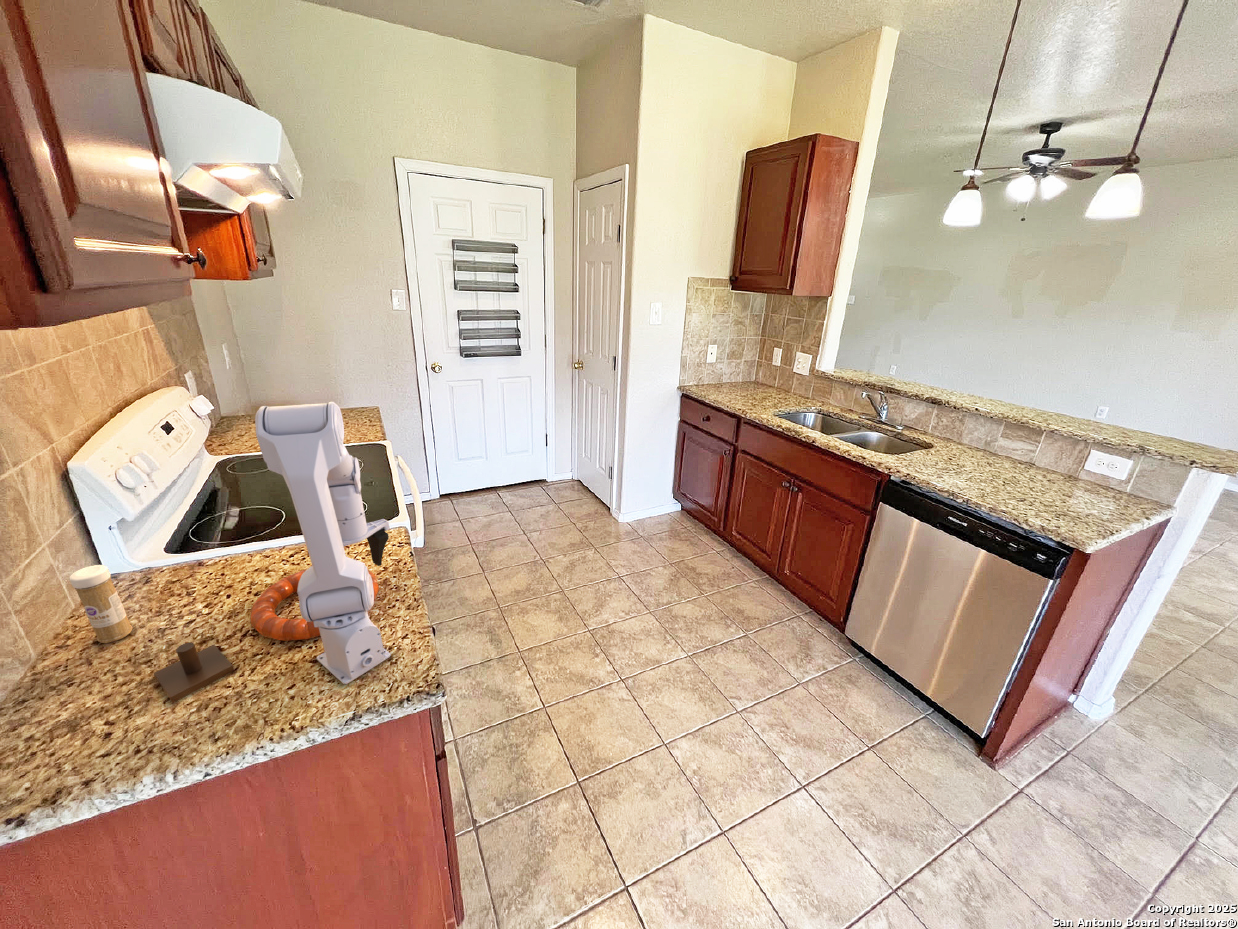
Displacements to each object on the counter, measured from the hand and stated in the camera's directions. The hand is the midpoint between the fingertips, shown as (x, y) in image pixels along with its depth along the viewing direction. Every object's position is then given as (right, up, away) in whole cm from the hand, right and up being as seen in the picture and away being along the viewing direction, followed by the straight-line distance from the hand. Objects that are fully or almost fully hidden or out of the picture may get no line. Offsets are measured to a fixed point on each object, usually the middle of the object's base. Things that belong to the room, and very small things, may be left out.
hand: (359, 572), depth 101 cm
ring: (-5, -4, -6) cm, 9 cm away
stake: (-15, -12, -22) cm, 29 cm away
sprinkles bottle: (-36, -8, -14) cm, 39 cm away
